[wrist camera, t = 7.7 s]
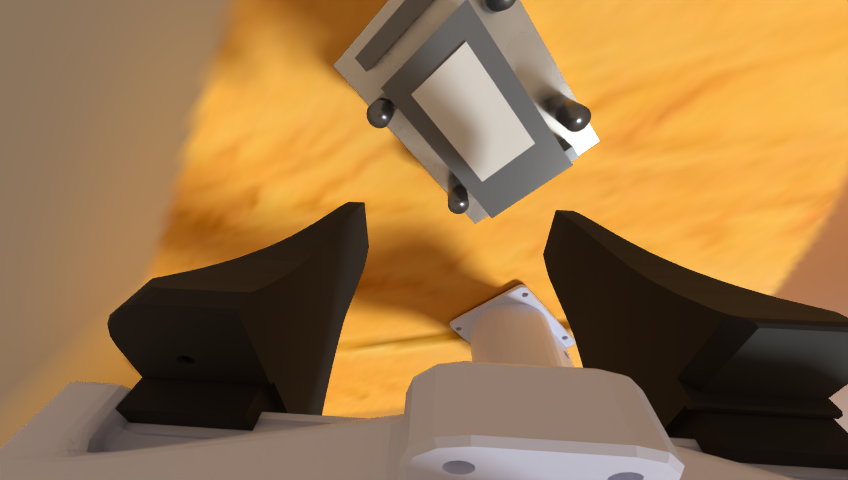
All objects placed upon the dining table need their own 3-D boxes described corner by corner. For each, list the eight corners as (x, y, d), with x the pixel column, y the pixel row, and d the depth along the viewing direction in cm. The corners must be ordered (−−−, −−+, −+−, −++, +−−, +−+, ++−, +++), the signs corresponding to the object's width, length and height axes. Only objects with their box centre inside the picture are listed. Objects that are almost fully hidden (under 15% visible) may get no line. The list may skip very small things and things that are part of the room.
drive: (543, 134, 18) (573, 165, 14) (481, 179, 20) (492, 219, 16) (460, 7, 15) (467, -2, 11) (396, 74, 17) (380, 88, 13)
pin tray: (592, 136, 19) (624, 158, 16) (474, 217, 23) (479, 248, 19) (465, -86, 14) (472, -122, 11) (338, 64, 18) (314, 71, 14)
